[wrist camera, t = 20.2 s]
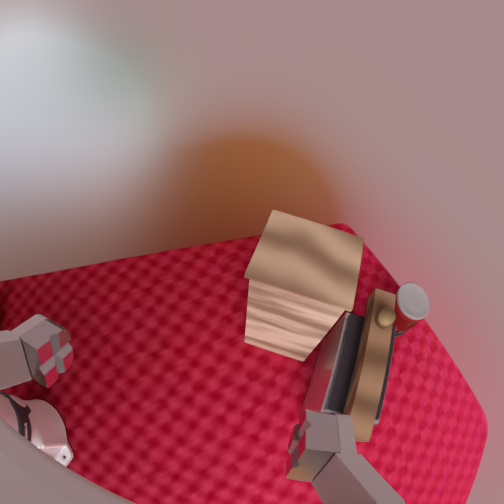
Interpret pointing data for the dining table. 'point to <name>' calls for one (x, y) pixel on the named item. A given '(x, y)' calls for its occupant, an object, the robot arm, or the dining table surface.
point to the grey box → (340, 367)
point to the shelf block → (299, 284)
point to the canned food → (409, 307)
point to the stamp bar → (370, 363)
